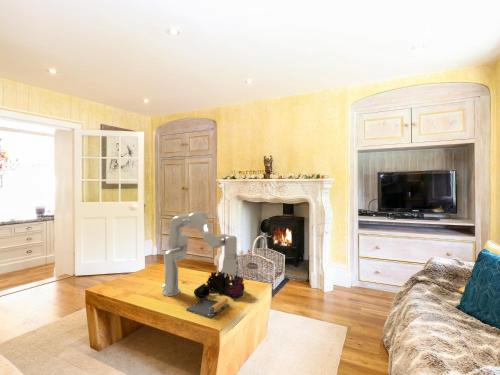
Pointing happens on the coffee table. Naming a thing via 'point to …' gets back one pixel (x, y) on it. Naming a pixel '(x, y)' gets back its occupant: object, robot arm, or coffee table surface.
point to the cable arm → (217, 305)
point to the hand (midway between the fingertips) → (230, 284)
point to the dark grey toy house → (202, 291)
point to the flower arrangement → (226, 285)
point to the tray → (205, 308)
